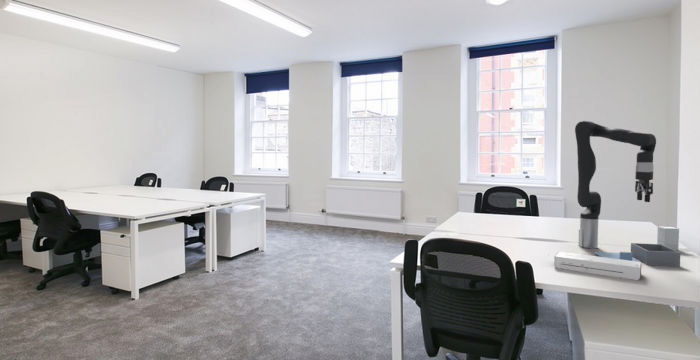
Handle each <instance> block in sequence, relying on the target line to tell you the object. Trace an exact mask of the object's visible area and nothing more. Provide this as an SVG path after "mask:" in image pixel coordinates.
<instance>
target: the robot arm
mask: <svg viewBox="0 0 700 360" xmlns="http://www.w3.org/2000/svg"><path fill="white" fill-rule="evenodd" d="M574 133H575V139H576V147H577V149H576V151H577V152H576V153H577V174H578V175H577V176H578V181H577V183H578V187H577V195H576V196H577V197H576V198H577V203H578V205H579V206H580V207H582V208H586V209H585V210H583V211H582V212H580V217H579V219H580V220H579V229H578V246H579V247H580V248H586V249H597V248H598V246H599V216H600V215H601V207H602V197H601V194H599V192H598V191H590V190H591V189H590V184H591V180H592V179H593V177H594V175H595V173H596V171H597V160H596V154H595V153H594V151H593V148H592V145H591V137H594V138H596V137H597V138H598V137H599V138H605V139H608V140H611V141H615V142H619V143H624V144H631V145H633V146H637V147H640V148H639V151H638V152H637V154H636V163H635V164H636V165H635V180H636V181H635V186H634V192H636V200H637V201H642V200H643V193H644V202H645V203H650V202H651V195H653V194H654V183H653V182H650V181H652V180H654V152H655V149H656V146H657V138H656V136H655V135H654V134H652V133H644V132H636V131H634V130H630V129H623V128H617V127H616V128H615V127H608V126H604V125H601V124H598V123H595V122H593V121H588V120H581V121H578V123H576V125H575V128H574Z"/></svg>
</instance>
